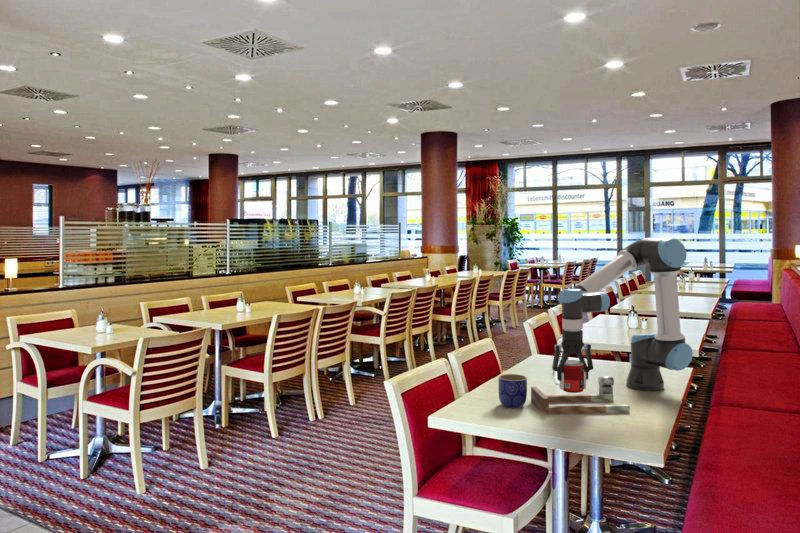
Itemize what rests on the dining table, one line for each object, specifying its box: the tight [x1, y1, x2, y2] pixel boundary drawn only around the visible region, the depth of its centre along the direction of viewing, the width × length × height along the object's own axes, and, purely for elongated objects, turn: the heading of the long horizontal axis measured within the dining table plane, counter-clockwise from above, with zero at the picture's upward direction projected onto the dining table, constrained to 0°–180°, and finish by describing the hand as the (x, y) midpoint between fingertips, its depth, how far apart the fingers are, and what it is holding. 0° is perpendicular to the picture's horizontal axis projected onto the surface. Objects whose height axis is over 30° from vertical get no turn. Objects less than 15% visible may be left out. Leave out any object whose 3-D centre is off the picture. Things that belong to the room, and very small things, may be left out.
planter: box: [497, 373, 528, 409], centre depth 235 cm, size 11×11×11 cm
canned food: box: [562, 359, 585, 394], centre depth 232 cm, size 8×8×11 cm
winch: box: [597, 376, 615, 396], centre depth 245 cm, size 5×4×9 cm
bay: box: [530, 386, 631, 416], centre depth 232 cm, size 32×17×6 cm, turn 93°
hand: (572, 388), depth 232 cm, fingers closed on canned food, 8 cm apart
